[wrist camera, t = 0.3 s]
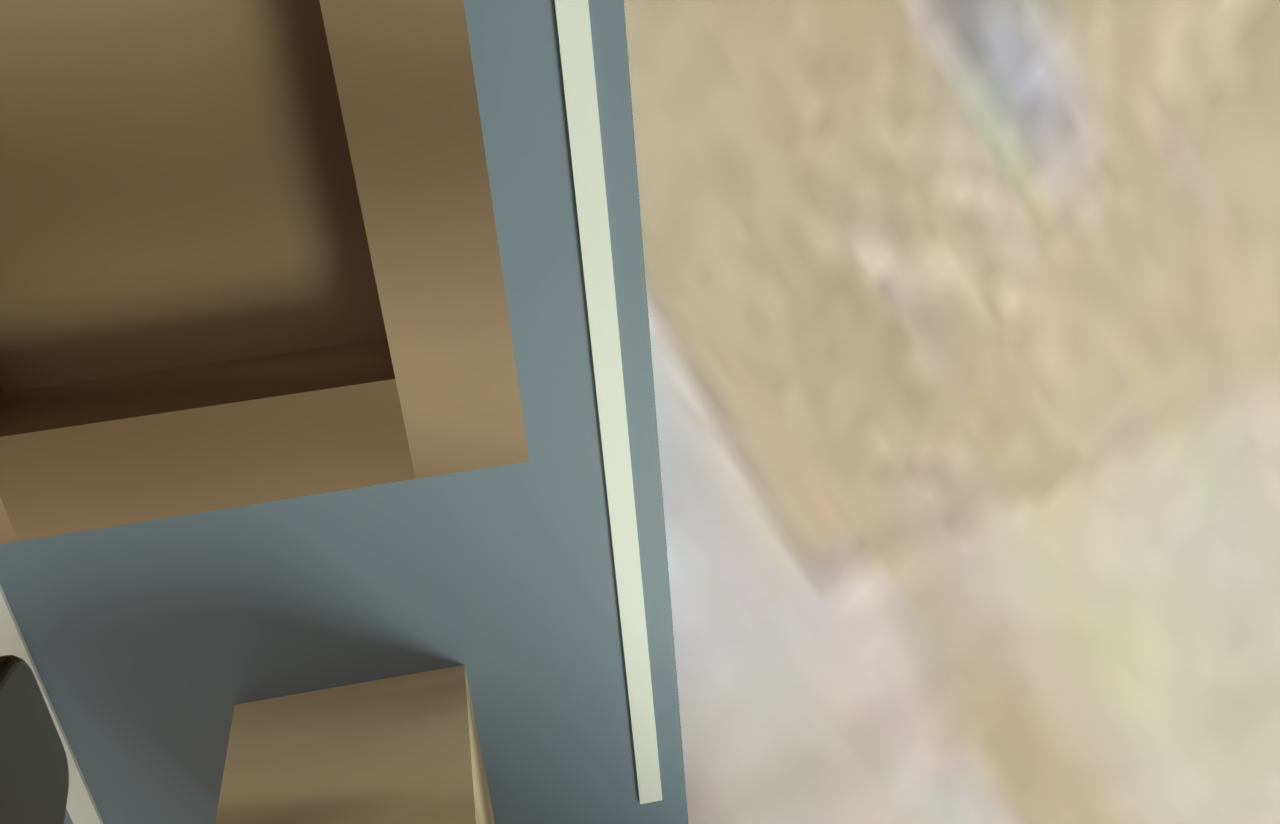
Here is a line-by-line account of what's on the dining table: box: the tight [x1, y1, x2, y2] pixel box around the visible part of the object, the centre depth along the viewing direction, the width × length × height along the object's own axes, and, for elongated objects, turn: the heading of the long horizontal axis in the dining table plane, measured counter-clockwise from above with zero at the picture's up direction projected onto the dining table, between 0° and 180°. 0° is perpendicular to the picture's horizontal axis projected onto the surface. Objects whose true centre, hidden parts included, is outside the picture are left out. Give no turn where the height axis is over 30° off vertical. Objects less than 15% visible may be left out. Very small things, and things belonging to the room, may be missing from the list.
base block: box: [0, 0, 529, 544], centre depth 16 cm, size 8×8×5 cm
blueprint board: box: [0, 0, 688, 824], centre depth 22 cm, size 23×13×1 cm, turn 4°
